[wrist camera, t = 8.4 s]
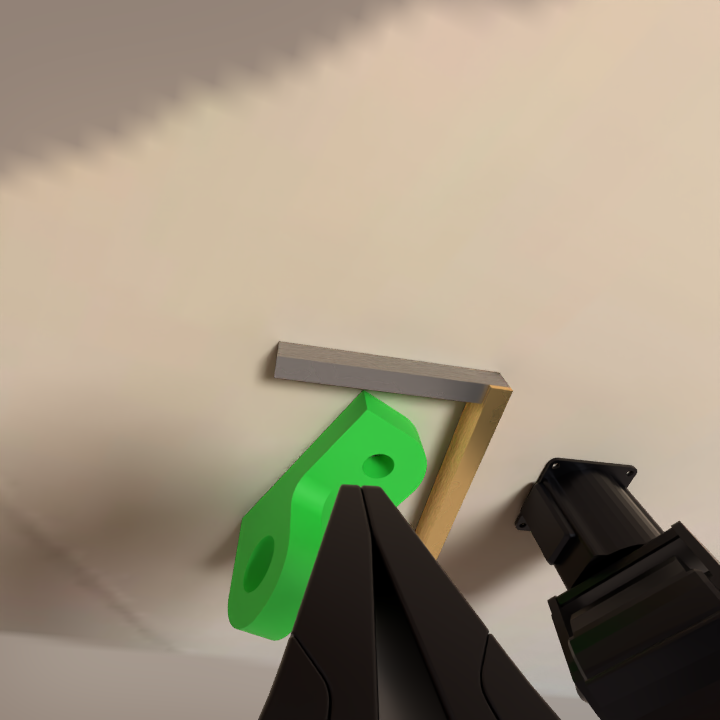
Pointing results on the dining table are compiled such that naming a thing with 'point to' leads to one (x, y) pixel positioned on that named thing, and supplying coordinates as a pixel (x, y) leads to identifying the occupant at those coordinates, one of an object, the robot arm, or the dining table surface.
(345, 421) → the mechanical part
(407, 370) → the u-shaped frame
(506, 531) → the dining table surface
